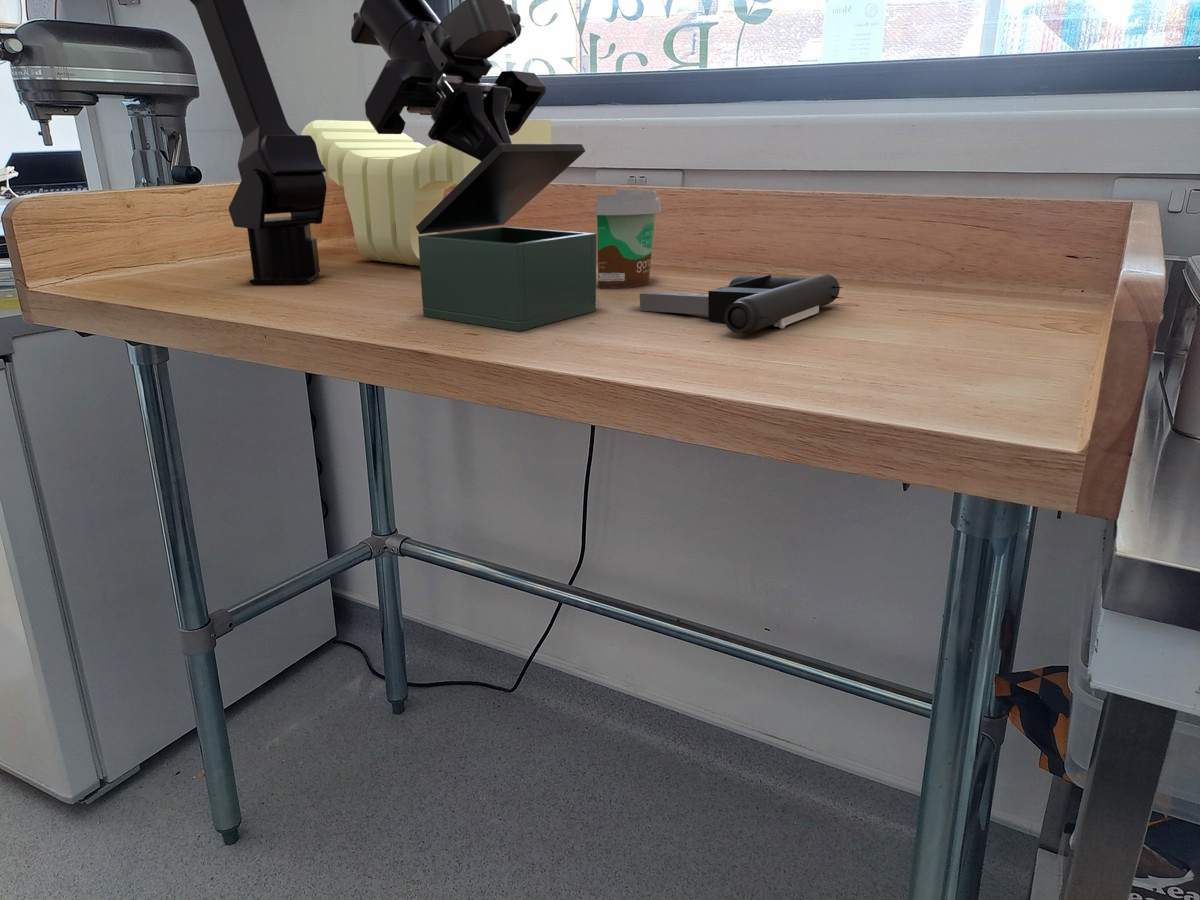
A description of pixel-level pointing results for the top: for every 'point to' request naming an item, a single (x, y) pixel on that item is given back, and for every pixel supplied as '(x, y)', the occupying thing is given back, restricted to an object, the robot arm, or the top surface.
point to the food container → (625, 237)
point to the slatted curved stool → (395, 180)
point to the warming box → (508, 276)
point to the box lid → (500, 186)
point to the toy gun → (751, 301)
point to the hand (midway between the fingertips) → (513, 170)
